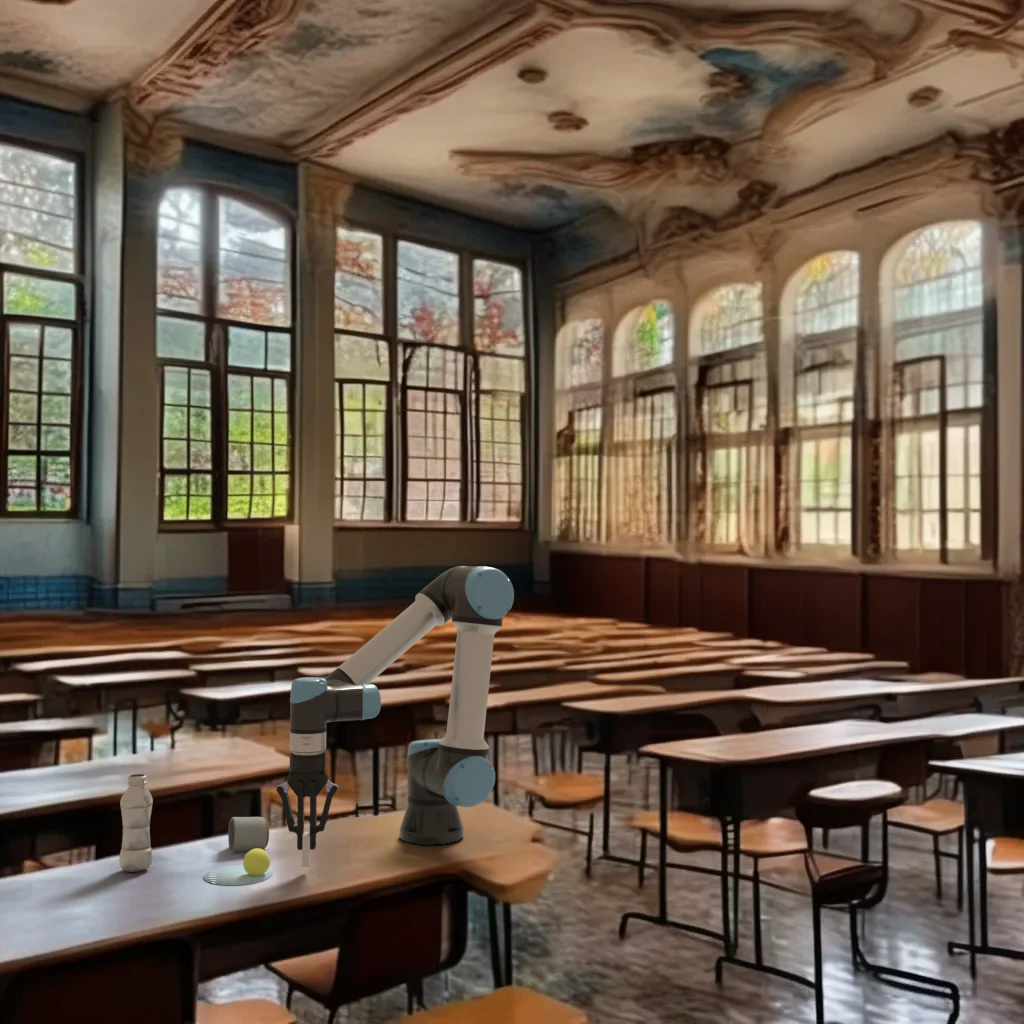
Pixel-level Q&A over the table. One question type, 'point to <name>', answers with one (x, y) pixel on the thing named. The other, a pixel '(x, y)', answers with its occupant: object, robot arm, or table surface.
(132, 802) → the plastic bottle
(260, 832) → the ceramic mug
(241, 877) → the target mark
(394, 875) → the table surface
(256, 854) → the ball
